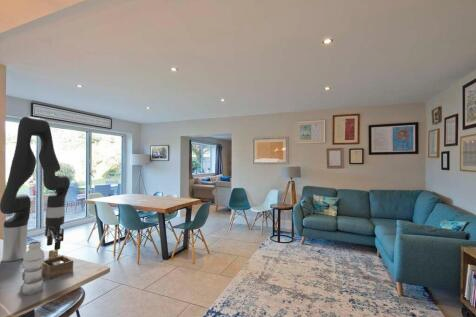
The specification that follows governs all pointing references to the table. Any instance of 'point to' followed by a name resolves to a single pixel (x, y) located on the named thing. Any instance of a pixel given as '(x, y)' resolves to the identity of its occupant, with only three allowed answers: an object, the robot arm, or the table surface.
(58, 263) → the cube offwhite
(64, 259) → the box
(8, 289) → the table surface
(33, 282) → the plastic bottle
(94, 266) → the table surface
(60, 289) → the table surface
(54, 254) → the lid
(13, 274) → the table surface
